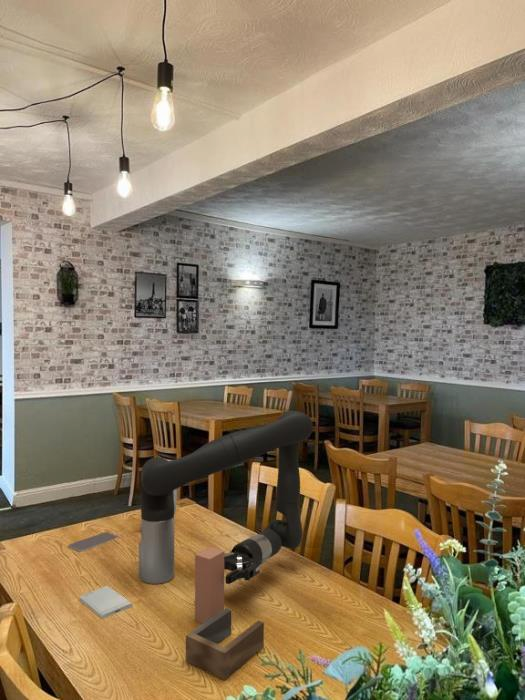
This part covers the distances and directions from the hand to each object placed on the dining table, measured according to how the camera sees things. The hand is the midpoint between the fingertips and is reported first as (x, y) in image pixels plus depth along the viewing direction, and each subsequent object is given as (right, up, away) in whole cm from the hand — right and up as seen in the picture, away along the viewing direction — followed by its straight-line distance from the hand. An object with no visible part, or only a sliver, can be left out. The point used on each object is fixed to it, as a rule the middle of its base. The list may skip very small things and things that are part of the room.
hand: (213, 575), depth 126 cm
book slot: (+4, -10, -14) cm, 18 cm away
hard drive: (-28, -10, +6) cm, 30 cm away
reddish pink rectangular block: (-1, -10, -1) cm, 10 cm away
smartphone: (-44, -9, +45) cm, 63 cm away
